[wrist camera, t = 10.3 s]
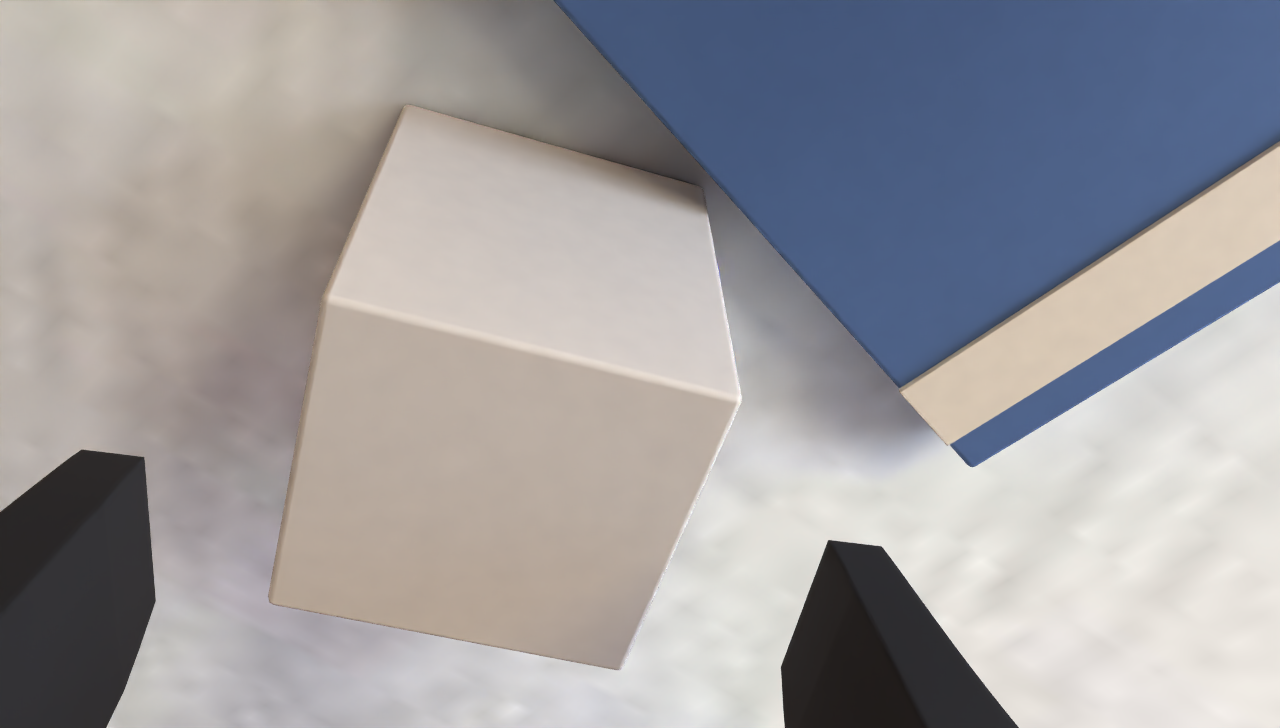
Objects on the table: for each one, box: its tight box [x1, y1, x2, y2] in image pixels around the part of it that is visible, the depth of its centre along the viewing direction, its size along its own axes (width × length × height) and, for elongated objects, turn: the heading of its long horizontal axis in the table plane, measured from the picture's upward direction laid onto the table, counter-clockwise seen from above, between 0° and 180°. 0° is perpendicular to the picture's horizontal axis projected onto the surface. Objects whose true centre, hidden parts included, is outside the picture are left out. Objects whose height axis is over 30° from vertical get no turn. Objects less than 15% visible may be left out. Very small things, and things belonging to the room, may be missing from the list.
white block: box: [268, 105, 742, 670], centre depth 15 cm, size 4×4×6 cm
